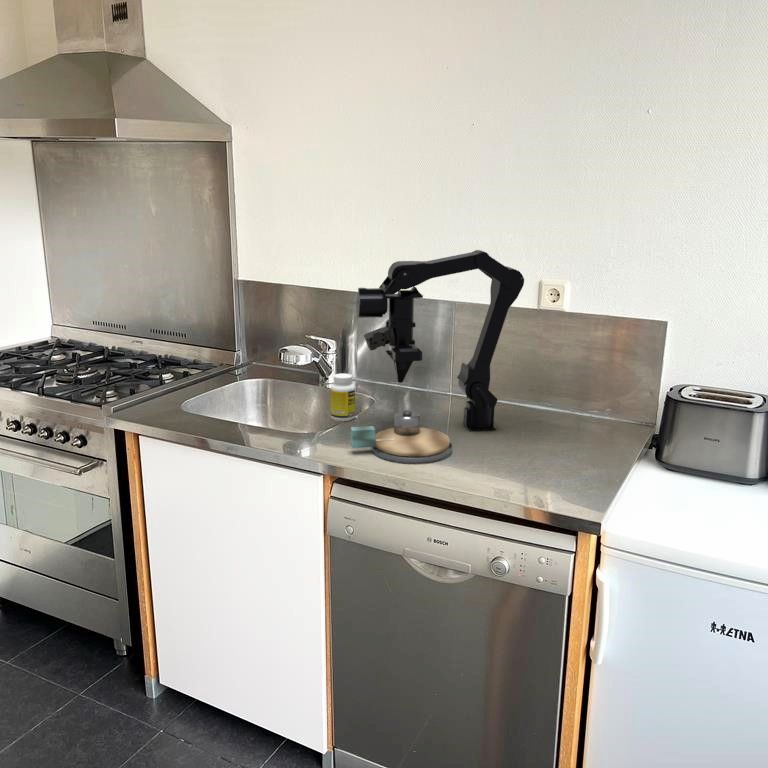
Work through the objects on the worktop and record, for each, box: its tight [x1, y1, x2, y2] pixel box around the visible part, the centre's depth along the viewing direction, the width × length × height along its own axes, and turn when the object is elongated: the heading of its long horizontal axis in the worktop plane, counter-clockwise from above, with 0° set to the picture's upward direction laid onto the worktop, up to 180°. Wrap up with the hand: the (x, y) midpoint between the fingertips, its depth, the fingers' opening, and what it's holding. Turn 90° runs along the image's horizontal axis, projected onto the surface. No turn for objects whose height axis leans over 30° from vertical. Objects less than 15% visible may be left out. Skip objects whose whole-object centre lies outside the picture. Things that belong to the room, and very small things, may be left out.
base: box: [370, 442, 453, 465], centre depth 171 cm, size 18×18×1 cm
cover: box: [393, 409, 421, 436], centre depth 174 cm, size 6×6×5 cm
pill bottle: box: [330, 373, 356, 422], centre depth 191 cm, size 6×6×11 cm
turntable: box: [350, 425, 451, 457], centre depth 169 cm, size 22×17×4 cm
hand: (400, 382), depth 180 cm, fingers closed
